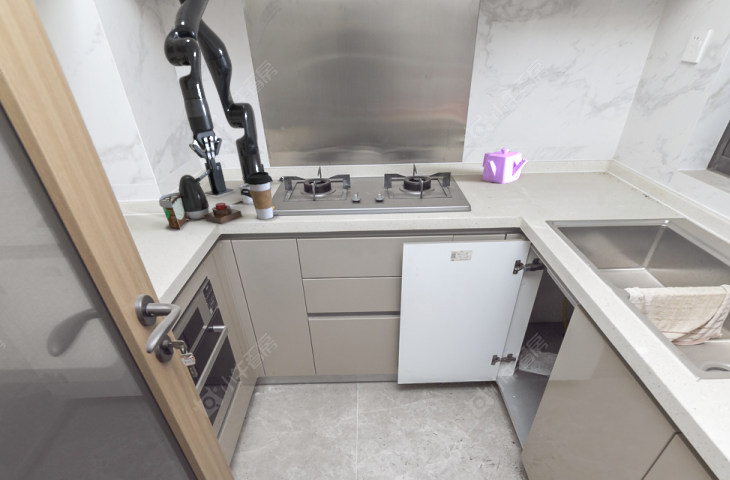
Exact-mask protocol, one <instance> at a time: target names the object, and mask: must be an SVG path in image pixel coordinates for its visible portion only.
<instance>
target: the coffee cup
mask: <svg viewBox="0 0 730 480" xmlns="http://www.w3.org/2000/svg"><path fill="white" fill-rule="evenodd" d="M268 174H269V172H268V173H267V171H264V172H254V173H252V174H250V175H248V176H247V184H249V188H250V193H251V197H252V200H253V203H254V204H253V206H254V210H255V213H256V217H257V219H260V220H268V219H271V218H273V217H274V210H273V198H272V197H273V196H272V187H271V180H270V178H269V176H270V174H269V175H268Z"/></svg>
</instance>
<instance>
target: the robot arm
mask: <svg viewBox="0 0 730 480" xmlns="http://www.w3.org/2000/svg"><path fill="white" fill-rule="evenodd" d="M209 1H210V0H178V2H179V4H180V6H178V9H177V10H176V13H175V16H174V22H173V27H172V28H171V29H170V31H169V32H168V33H167V35H166V37H165V39H164V42H163V54H164V56H165V59H166V60H167V61H168V63H169V64H170V65H172V66H173V67H179V68H180V67H190V71H189V73H187V74H185V75H182V76H180V77H179V79H178V85H179V88H180V93H181V95H182V98H183V104H184V109H185V113H186V117H187V121H188V125H189V128H190V131H191V132H192V142H191V143H189V144H188V146H189V148H190V149H191V150H192V151H193V152H194V153H195V154H196V155H197V157H199V158H200V159H204V160H205V163H207V167H208V169H209V170H211V171H214V170H216V167H217V166H216V163H217V162H216V157H217V156H219V154H220V149H221V146H222V142H223V139H222V137H218V136H217V135H216V133H215V132H214V122H213V119H212V114H211V109H210V106H209V103H208V100H207V97H206V93H205V89H204V84H203V78H202V77H203V76H202V58H203V60H204V63H205V65H206V67H207V70H208V72H209V75H210V76H211V80H212V82H213V84H214V86H215V89H216V92H217V95H218V98H219V101H220V104H221V108H222V112H223V114H224V116H225V119H226V122H227V123H228V125H229V127H231V128H232V129H238V130H239V129H243V131H244V133H243V135H242V136H241V137H238V138H236V139H235V146H236V151H237V157H238V161H239V166H240V171H241V175H242V176H241V178H242V179H241V180H242V181H243V184H247V176H248V175H250V174H252V173H254V172H265V167H264V164H263V163H262V159H261V153H260V148H259V142H258V137H259V136H258V131H257V122H256V115H255V111H254V108H253V106H252V104H251V103H249V102H235V101H234V98H233V96H232V93H231V82H232V76H233V63H232V59H231V57H230V55H229V52H228V49H227V46H226V44H225V42H224V41H223V40H222V38H221V37H220V36H219V35H218V34H217V33H216V32H215V31H214V30H213V29H212V28H211V27H210V26H209V25H208V24H207V22H205V21H204V19H203V16H204V13H205V11H206V8H207V6H208V4H209ZM266 172H267V171H266ZM267 173H268V175H269V178H270V180H271V181H270V183H272V182H274V180H273V178H272V176H271V175H270V174H269V172H267ZM282 177H283V176H281V177H279V180H278V182H280V183H282V182H283V180H284V179H283V178H282Z"/></svg>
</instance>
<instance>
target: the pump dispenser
mask: <svg viewBox="0 0 730 480" xmlns="http://www.w3.org/2000/svg"><path fill="white" fill-rule="evenodd" d="M199 177H200V176H198V177H194V176H193V175H191V174H184V175H182V176H181V177H180V179H179V182H178V192H180V195H181V198H182V203H183V207H184V211H185V213H186V215H187V217H188V218H189V219H191V220H201V219H203V218H204V219H205V216H204V215H205V214H208V213H209V210H210V209H209V207H210V203H209V200H208V199H207V196H206V194H205V192H204V190H203V188H202V186H201V184H200V185H199V183H200V182H201V181H200V178H199ZM198 181H200V182H199V183H198Z"/></svg>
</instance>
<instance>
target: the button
mask: <svg viewBox="0 0 730 480" xmlns="http://www.w3.org/2000/svg"><path fill="white" fill-rule="evenodd" d="M214 205H215V207H216V209H225V208H226V205H227V204H226V203H225V202H216V203H215V204H214Z"/></svg>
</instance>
